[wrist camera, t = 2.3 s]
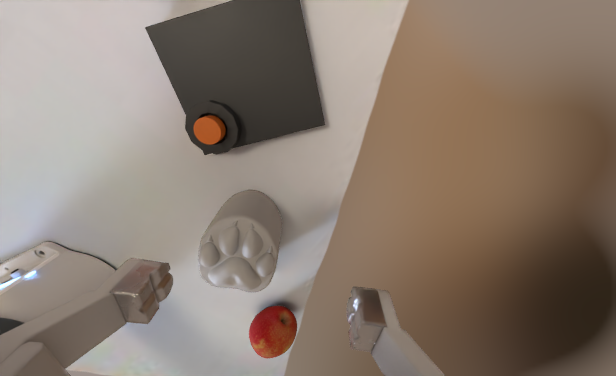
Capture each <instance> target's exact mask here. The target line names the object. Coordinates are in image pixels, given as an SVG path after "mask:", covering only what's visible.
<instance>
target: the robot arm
mask: <svg viewBox="0 0 616 376" xmlns="http://www.w3.org/2000/svg"><path fill="white" fill-rule="evenodd" d="M169 270H170V266H169V263H163V262H157V261H150V260H144V259H137V258H131V259H128V260H127V261H126V262H125V263H124V264H122V265H121V266H120V267H119V268H118V269H117V270H114V269H113V268H112V267H111V266H109V265H108V264H106V263H105V262H103V261H101V260H99V259H97V258H95V257H92V256H90V255H86V254H83V253H79V252H74V251H71V250H68V249H66V248H64V247H62V246H60V245H58V244H55V243H53V242H44V243H42V244H40V245H38V246H36V247H34V248H32V249H30V250H28V251H25V252H23V253H21V254H19V255H17V256H15V257H13V258H11V259H9V260H7V261H5V262H3V263H1V264H0V376H70V374H69V373H68V372H67V371H66V370H65V368H67V367H68V366H69V365H71V364H72V363H74V362H75V361H76V360H78V359H79V358H80V357H82V356H83V355H84V354H86V353H87V352H88V351H90V350H91V349H92V348H94V347H95V346H97V345H98V344H99V343H101V342H102V341H103V340H105V339H106V338H107V337H109V336H110V335H111V334H113V333H114V332H115V331H117V330H118V329H120V328H121V327H122V326H124V325H125V324H126V322H131V323H142V324H148V323H149V322H150V320H151V319H152V318H153V316H154V315H155V313H156V312H157V310H158V309H159V302H161V301H162V300H164V299H165V298H166V297H167V296H168V294H169V293H170V290H171V288H172V285H173V277H172V275H171V274H170V273H169V272H168V271H169ZM351 294H352V297H350V298H349V300H348V304H347V320H348V322H349V324H350V325H351V327H350V330H349V338H350V348H351V349H354V350H360V351H367V352H371V354H372V356H373V358H374V359H375V361H376V363H377V365H378V366H379V368H380V370H381V371H382V373H383V375H384V376H445V375H444V374H443V373H442V372H441V371H440V369H439V368H438V367H437V366H436V365H435V364H434V363H433V361H432V360H431V359H430V358H429V357H428V356H427V355H426V353H425V352H424V351H423V350H422V349H421V348H420V347H419V346H418V345H417V343H416V342H415V341H414V340H413V339H412V338H411V336H410V335H409V334H408V333H407V332H406V331H405V330H402V329H401V327H400V324H399V321H398V318H397V315H396V312H395V309H394V305H393V303H392V300H391V296H390V293H389V292H388V291H386V290H378V289H372V288H363V287H353V288H352V290H351Z"/></svg>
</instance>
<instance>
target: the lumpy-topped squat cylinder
mask: <svg viewBox="0 0 616 376" xmlns="http://www.w3.org/2000/svg"><path fill="white" fill-rule="evenodd" d="M281 230H282V219H281V216H280V213H279V211H278V209H277V207H276V205H275V204H274V202H273V201H272V200H271V199H270V198H269V197H268V196H266V195H265V194H264V193H262V192H259V191H256V190H246V191H242V192H240V193H237V194H235V195H233V196H232V197H231V198H230V199H228V200H227V201H226V202H225V204H224V205H223V206H222V207H221V208H220V210H219V211H218V213H217V214H216V216H215V218H214V219H213V221H212V222H211V224H210V225H209V227H208V228H207V230H206V231H205V233H204V235H203V236H202V238H201V242H200V247H199V255H198V261H199V271H200V275H201V277H202V278H203V280H204V281H205V282H207V283H208V284H210V285H212V286H215V287H220V288H234V289H239V290H242V291H246V292H258V291H261V290H263V289H264V288H266V287H267V286H268V285H269V283H270V282H271V279H272V277H273V274H274V272H275V268H276V264H277V259H278V252H279V245H280V238H281Z"/></svg>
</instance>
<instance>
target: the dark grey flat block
mask: <svg viewBox="0 0 616 376" xmlns="http://www.w3.org/2000/svg"><path fill="white" fill-rule="evenodd" d="M146 30H147V32H148V34H149V37H150V39H151V41H152V43H153V45H154V47H155V49H156V52H157V54H158V56H159V58H160V60H161V62H162V65H163V67H164V69H165V71H166V73H167V75H168V77H169V80H170V82H171V84H172V86H173V88H174V90H175V92H176V95H177V97H178V99H179V101H180V103H181V105H182V107H183V110H184V112H185V114H186V125H185V128H186V131H187V133H188V135H189V137H190V139H191V141H192V142H193V143H194V144H195V145H196V146H198V147H199V148H200V149H201V150H203V153H204V155H207V154H211V153H213V154H219V153H223V152H227V151H229V150H230V149H231V148H235V147H239V146H243V145H247V144H251V143H255V142H259V141H263V140H267V139H271V138H275V137H279V136H283V135H287V134H291V133H295V132H299V131H303V130H307V129H310V128H314V127H318V126H322V125H325V123H324V118H323V113H322V108H321V103H320V98H319V93H318V88H317V83H316V78H315V73H314V69H313V64H312V59H311V54H310V49H309V44H308V39H307V34H306V29H305V24H304V19H303V14H302V9H301V5H300V0H232V1H229V2H226V3H223V4H220V5H216V6H213V7H210V8H207V9H203V10H200V11H197V12H194V13H190V14H187V15H184V16H181V17H177V18H174V19H171V20H168V21H164V22H161V23H158V24H155V25H152V26H148V27H146ZM208 115H212V116H216V117H218V118H219V119H221V120H222V122H223V123H224V125H225V128H226V133H225V136H224V137H223V139H221V140H220V141H218V142H217V143H215V144H212V145H208V144H204V143H202V142H201V141H199V140H198V139H197V137H196V136H195V134H194V124H195V122H196V121H197V120H198V119H199V118H202V117H205V116H208Z"/></svg>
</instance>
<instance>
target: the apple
mask: <svg viewBox="0 0 616 376" xmlns="http://www.w3.org/2000/svg"><path fill="white" fill-rule="evenodd" d="M296 331H297V322H296V318H295V316H294V314H293V313H292V312H291V311H290V310H289V309H288V308H286V307H284V306H271V307H268V308H266V309H264V310H262V311H261V312H260V313H258V314H257V316H256V317H255V318H254V320H253V321H252V323H251V326H250V330H249V338H250V342H251V345H252V347H253V349H254V350H255V352H256V353H257V354H258V355H259V356H261V357H263V358H274V357H277V356H279V355H281V354H283V353H284V352H286V351H287V350H288V349H289V348H290V346H291V345H292V343H293V341H294V339H295V336H296Z"/></svg>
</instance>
